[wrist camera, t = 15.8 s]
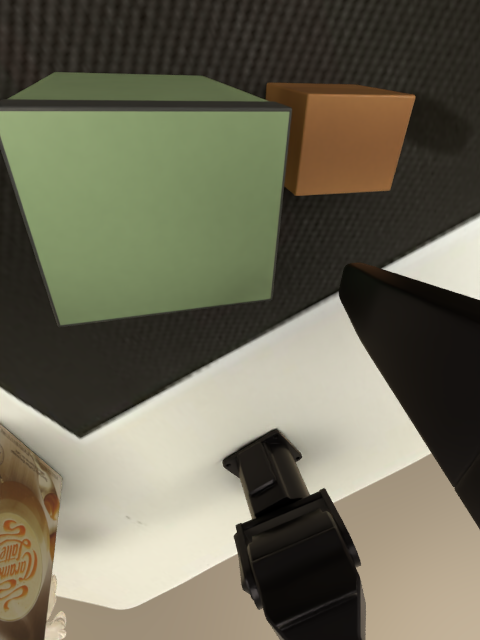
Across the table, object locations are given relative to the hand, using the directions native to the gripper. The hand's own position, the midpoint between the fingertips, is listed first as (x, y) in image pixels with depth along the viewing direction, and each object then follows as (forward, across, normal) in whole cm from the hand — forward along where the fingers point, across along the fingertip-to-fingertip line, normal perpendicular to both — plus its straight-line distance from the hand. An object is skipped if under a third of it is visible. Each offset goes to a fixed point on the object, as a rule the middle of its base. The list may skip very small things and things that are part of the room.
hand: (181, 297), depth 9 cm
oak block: (+13, -9, -2) cm, 16 cm away
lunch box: (+7, 0, -1) cm, 7 cm away
